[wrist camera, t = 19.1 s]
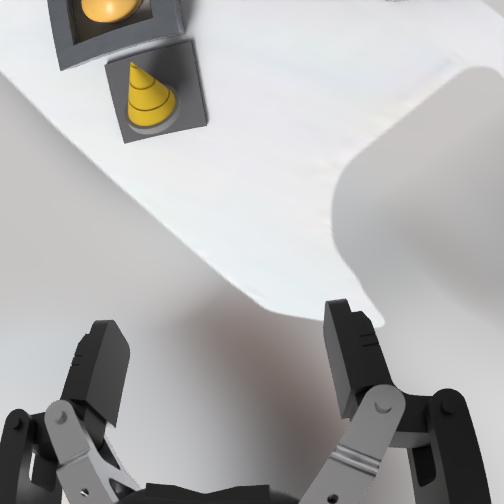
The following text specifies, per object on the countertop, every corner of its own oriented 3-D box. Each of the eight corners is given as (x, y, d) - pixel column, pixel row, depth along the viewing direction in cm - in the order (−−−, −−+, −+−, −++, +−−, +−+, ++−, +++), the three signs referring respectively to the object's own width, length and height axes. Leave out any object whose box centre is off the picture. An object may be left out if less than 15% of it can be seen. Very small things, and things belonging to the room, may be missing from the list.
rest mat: (191, 41, 26) (190, 41, 25) (207, 124, 31) (206, 125, 31) (106, 64, 26) (104, 65, 26) (125, 142, 31) (124, 143, 31)
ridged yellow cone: (127, 125, 30) (90, 67, 20) (169, 96, 31) (145, 32, 21) (152, 158, 29) (116, 100, 20) (196, 126, 30) (177, 59, 20)
